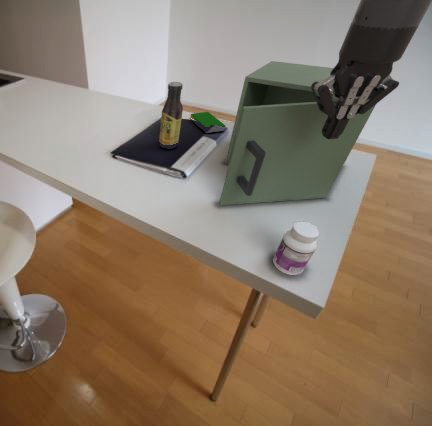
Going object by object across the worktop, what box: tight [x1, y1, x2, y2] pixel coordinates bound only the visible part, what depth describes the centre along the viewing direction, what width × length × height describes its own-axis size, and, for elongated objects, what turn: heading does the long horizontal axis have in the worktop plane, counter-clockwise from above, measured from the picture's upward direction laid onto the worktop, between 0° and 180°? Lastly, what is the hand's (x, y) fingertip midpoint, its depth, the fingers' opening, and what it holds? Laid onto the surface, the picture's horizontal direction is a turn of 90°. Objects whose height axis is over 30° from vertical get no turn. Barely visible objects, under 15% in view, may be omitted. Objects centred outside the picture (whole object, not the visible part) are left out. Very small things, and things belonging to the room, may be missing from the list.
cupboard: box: [224, 60, 334, 165], centre depth 75 cm, size 18×26×24 cm
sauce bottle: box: [158, 81, 184, 145], centre depth 88 cm, size 6×6×20 cm
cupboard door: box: [218, 100, 377, 206], centre depth 61 cm, size 7×26×24 cm, turn 93°
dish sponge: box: [189, 111, 226, 128], centre depth 105 cm, size 7×14×2 cm, turn 12°
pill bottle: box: [272, 221, 321, 276], centre depth 52 cm, size 5×5×10 cm
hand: (329, 137), depth 51 cm, fingers closed
